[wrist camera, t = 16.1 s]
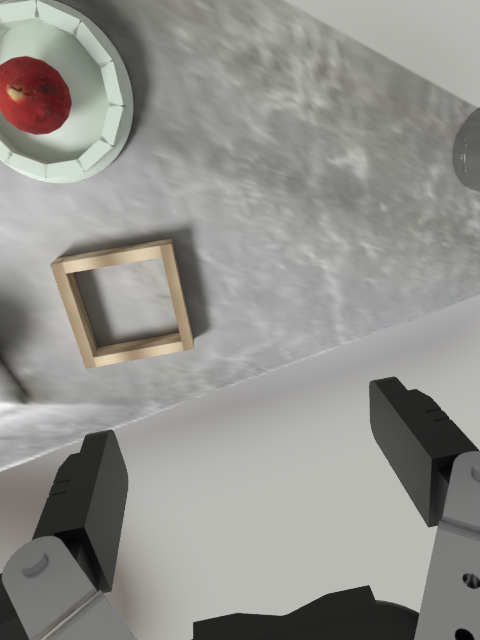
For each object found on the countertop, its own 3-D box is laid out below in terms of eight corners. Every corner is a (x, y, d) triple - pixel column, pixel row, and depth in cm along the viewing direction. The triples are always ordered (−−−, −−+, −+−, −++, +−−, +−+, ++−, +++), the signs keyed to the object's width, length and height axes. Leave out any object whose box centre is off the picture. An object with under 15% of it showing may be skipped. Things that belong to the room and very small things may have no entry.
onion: (70, 60, 39) (44, 43, 31) (86, 130, 41) (65, 130, 34) (3, 66, 38) (-40, 51, 31) (22, 137, 40) (-13, 138, 33)
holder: (171, 238, 47) (171, 243, 45) (193, 339, 52) (193, 348, 50) (56, 257, 46) (50, 264, 44) (90, 358, 51) (85, 368, 49)
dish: (109, -12, 38) (103, -23, 35) (149, 168, 44) (147, 171, 41) (-66, 13, 37) (-86, 4, 34) (0, 193, 43) (-13, 197, 40)
